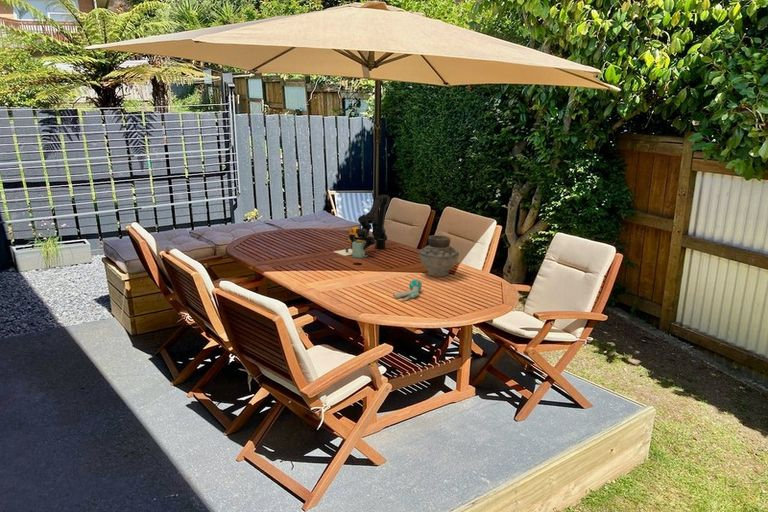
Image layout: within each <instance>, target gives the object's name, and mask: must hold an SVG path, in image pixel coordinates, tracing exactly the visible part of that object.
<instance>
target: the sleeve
mask: <svg viewBox="0 0 768 512" xmlns="http://www.w3.org/2000/svg"><path fill="white" fill-rule="evenodd" d="M365 243H366V241H355V242H352V248H351V250H352V254H351V256H352V257H358V258H357V259H359V258H361V257H363V256H365V255H366V249H365V250H363V248H364V246H365ZM352 257H351V258H352Z"/></svg>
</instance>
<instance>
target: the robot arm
mask: <svg viewBox="0 0 768 512" xmlns="http://www.w3.org/2000/svg"><path fill="white" fill-rule="evenodd" d="M390 202H391V197H390V196H389V195H388V194H380V195H377V196H375V198H374V201H373V204H372V206H371V208H370V209H369V211H368V212H366V214H362V215H361V216H359V217H358V218H357V221H358V222H359V224H360V226H361V228H359V229H356V233H357V235H358V237H356V236H355V235H354V234H350V235H349V234H348V236H347V238H348V237H349V239H350V240H351V243H350V244H351V246H350V249H352V242H355V241H357V240H363V242H365V246H364V248H363V250H365V251H366V250H367V249H368V248H369V247H371V246H373V245H375V246H374V248H375V249H377V250H384V248H385V249H387V247H386V241H388V235H387V234H386V229H385V221H386V213H387V208H388V206H390V205H389V204H390ZM377 213H378V218H377ZM377 219H378V220H377ZM376 220H377V225H376V227H375V228H373V226H372V225H373V224H375V223H376ZM372 229H373V232H372V233H373V235H372V236H370V231H371V230H372Z"/></svg>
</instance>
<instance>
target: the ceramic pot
mask: <svg viewBox="0 0 768 512" xmlns="http://www.w3.org/2000/svg"><path fill="white" fill-rule="evenodd" d="M427 240H428V245H426V246H424V247H423V248H422V249H420V250H419V251H418V258H419V261H420V263H421V265H422V266H423V268H425V269H426V270H427V275H428V276H431V277H436V278H437V277H445V276H449V273H450V270H451V269H452V268H453V267H454V266H455V265H456V263H457V262H458V259H459V255H460V252H459V251H458V250H456V249H455V248H454V247H453V246H451V245H450V243H451V237H450V236H449V235H448V236H447V235H438V234H437V235H435V234H434V235H429V236H428V239H427Z"/></svg>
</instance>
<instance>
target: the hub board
mask: <svg viewBox="0 0 768 512" xmlns="http://www.w3.org/2000/svg"><path fill="white" fill-rule="evenodd" d="M334 253H336V254H337V255H338V254H339V255H341V256H349V255H350V256H352V248H349V246H346V247H345V249H342V250H334V251H333V253H332V254H334Z"/></svg>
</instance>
